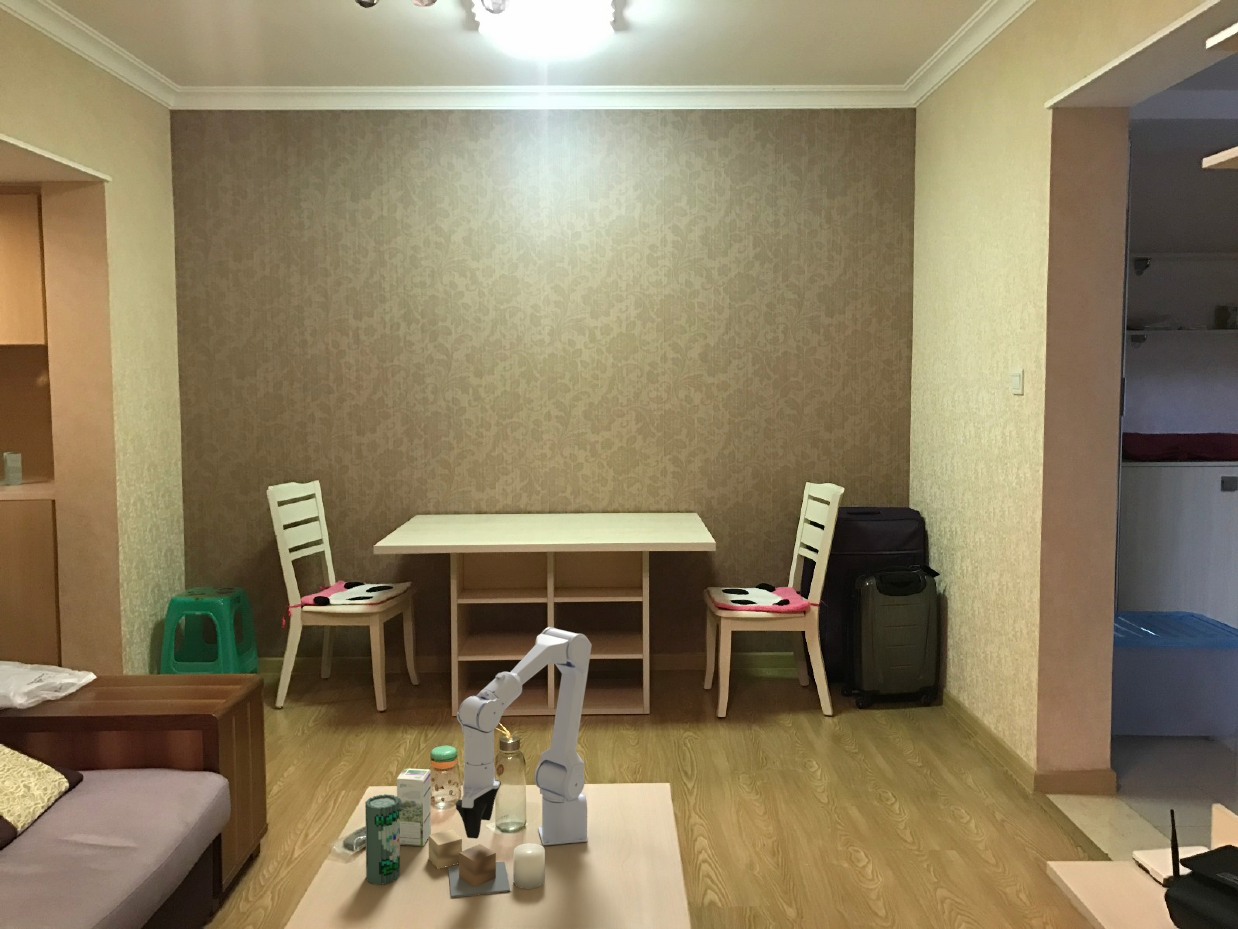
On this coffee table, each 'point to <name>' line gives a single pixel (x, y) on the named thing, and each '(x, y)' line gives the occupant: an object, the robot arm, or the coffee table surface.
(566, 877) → the coffee table surface
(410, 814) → the syrup box
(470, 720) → the robot arm
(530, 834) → the coffee table surface
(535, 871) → the white pillar candle
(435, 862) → the oak block
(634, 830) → the coffee table surface
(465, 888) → the rubber mat
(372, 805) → the can
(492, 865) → the walnut block
